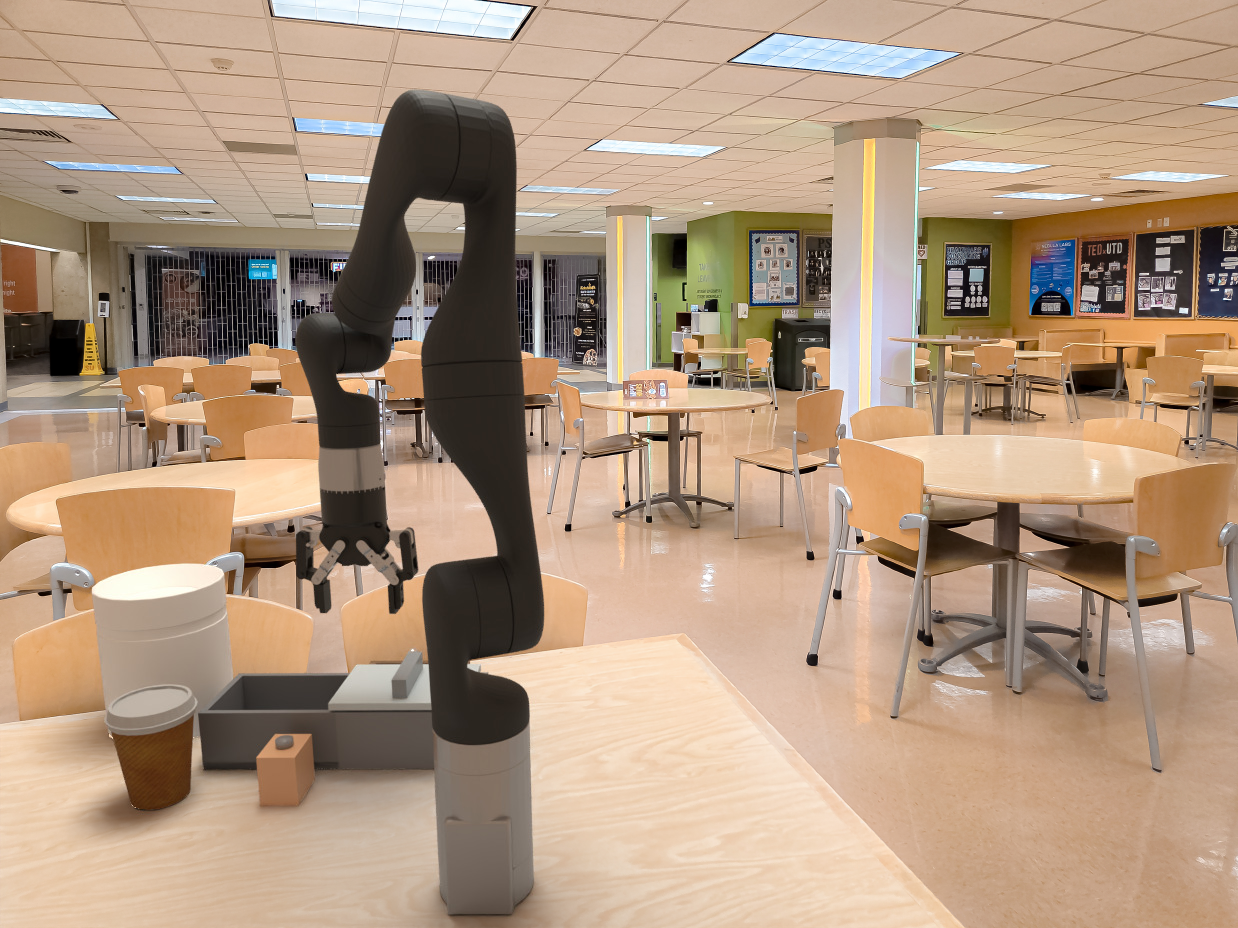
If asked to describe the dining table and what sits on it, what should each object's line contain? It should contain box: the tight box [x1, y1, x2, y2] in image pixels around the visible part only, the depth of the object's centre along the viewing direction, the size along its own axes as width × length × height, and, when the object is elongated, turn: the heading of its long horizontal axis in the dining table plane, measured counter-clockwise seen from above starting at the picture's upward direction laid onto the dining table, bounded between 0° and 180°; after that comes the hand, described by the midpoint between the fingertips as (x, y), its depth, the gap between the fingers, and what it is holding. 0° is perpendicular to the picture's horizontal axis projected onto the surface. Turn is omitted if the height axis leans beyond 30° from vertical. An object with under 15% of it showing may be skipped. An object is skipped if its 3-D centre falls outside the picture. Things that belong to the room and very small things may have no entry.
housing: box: [198, 671, 489, 771], centre depth 114 cm, size 12×35×8 cm, turn 90°
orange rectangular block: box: [256, 734, 316, 806], centre depth 104 cm, size 6×4×7 cm
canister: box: [91, 563, 234, 738], centre depth 121 cm, size 16×16×20 cm
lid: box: [328, 651, 482, 710], centre depth 113 cm, size 12×17×3 cm
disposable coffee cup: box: [103, 684, 198, 811], centre depth 102 cm, size 10×10×12 cm
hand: (360, 611), depth 108 cm, fingers open, 8 cm apart
